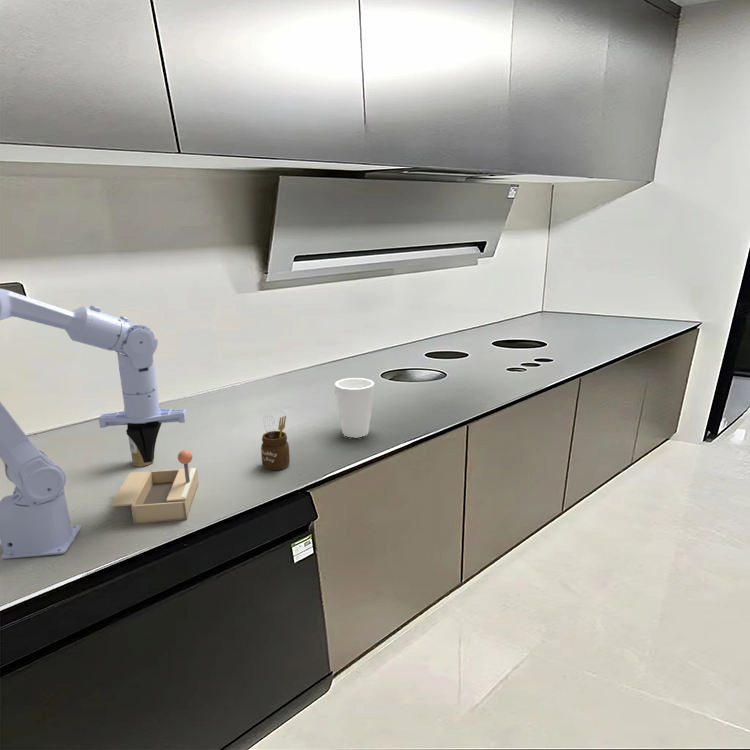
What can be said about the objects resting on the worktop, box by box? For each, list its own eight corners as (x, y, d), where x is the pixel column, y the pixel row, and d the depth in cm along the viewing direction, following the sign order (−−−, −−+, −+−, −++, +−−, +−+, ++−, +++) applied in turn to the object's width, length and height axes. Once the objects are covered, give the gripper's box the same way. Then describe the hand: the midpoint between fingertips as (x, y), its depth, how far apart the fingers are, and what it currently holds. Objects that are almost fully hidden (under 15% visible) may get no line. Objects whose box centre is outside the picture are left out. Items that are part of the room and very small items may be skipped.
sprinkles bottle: (154, 465, 121) (147, 406, 117) (131, 469, 119) (123, 409, 115) (153, 457, 125) (146, 400, 121) (131, 460, 123) (123, 403, 119)
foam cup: (328, 433, 138) (327, 383, 134) (357, 424, 144) (356, 375, 140) (353, 444, 131) (352, 392, 127) (382, 434, 137) (382, 383, 133)
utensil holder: (277, 457, 125) (274, 406, 121) (296, 464, 121) (294, 412, 117) (256, 465, 120) (252, 413, 117) (275, 474, 116) (272, 420, 113)
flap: (166, 501, 98) (162, 466, 96) (179, 469, 110) (176, 438, 109) (189, 499, 99) (185, 464, 97) (200, 468, 111) (196, 436, 109)
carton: (112, 525, 97) (109, 506, 96) (133, 488, 111) (130, 471, 110) (186, 519, 99) (184, 501, 98) (198, 483, 112) (196, 466, 111)
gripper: (186, 381, 103) (193, 448, 107) (103, 385, 101) (113, 454, 105) (179, 393, 97) (187, 464, 101) (90, 397, 95) (102, 470, 98)
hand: (149, 460), depth 102 cm, fingers closed
